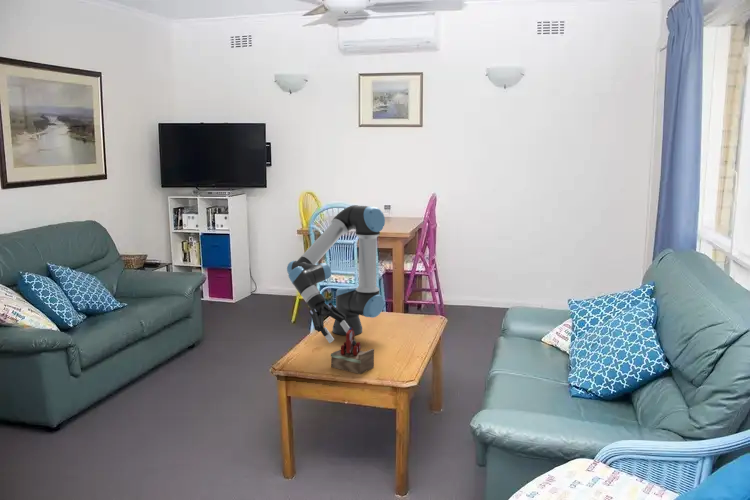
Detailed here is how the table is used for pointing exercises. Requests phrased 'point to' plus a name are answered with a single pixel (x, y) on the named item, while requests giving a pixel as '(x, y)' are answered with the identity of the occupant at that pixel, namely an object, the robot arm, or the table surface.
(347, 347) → the toy fire truck
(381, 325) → the table surface
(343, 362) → the stand
